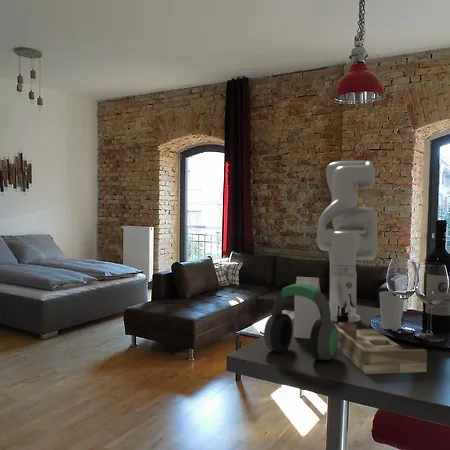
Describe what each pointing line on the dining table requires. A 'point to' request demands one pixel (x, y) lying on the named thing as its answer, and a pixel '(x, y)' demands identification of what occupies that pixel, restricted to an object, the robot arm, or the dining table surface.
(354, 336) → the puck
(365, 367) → the wooden compartment tray
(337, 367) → the dining table surface
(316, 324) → the headphones
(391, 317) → the cup
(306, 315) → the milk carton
